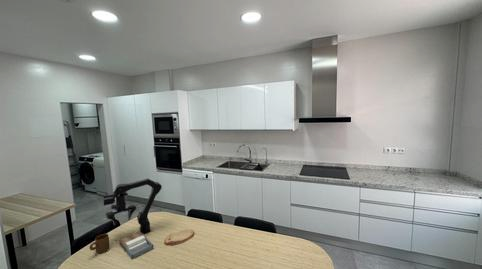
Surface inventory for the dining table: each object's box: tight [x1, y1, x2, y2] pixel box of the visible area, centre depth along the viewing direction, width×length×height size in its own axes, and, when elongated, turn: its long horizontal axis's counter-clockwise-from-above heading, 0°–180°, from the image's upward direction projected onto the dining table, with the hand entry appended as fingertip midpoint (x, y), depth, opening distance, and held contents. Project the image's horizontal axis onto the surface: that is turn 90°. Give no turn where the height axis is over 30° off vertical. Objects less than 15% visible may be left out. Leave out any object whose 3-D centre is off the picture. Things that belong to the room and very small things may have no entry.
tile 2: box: [128, 240, 147, 252], centre depth 132 cm, size 11×4×2 cm, turn 137°
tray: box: [125, 238, 155, 260], centre depth 130 cm, size 13×12×3 cm
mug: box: [89, 233, 110, 255], centre depth 128 cm, size 12×8×9 cm, turn 165°
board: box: [119, 231, 148, 252], centre depth 138 cm, size 14×12×3 cm
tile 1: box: [126, 236, 145, 248], centre depth 133 cm, size 11×4×2 cm, turn 137°
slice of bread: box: [163, 229, 195, 246], centre depth 142 cm, size 18×18×4 cm
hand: (122, 222), depth 143 cm, fingers open, 9 cm apart
